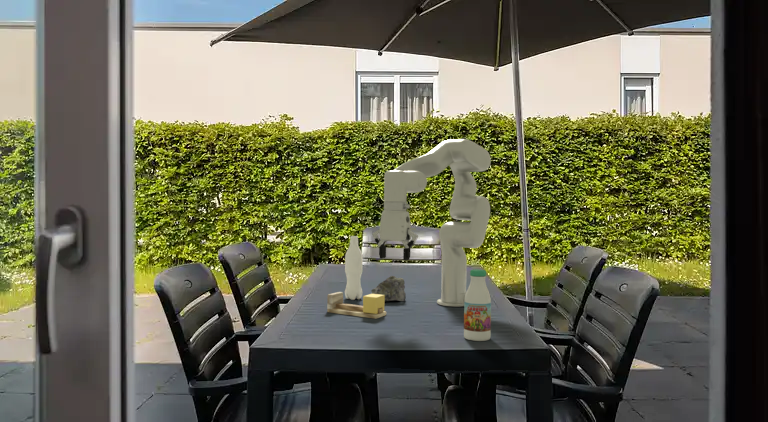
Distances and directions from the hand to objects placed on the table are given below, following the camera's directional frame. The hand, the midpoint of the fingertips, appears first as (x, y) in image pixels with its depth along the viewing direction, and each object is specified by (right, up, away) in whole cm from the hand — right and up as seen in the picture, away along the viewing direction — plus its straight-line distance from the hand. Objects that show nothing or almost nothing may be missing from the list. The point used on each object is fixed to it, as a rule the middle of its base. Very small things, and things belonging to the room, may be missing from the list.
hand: (394, 258), depth 188 cm
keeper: (-7, -18, +4) cm, 20 cm away
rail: (-13, -20, +8) cm, 25 cm away
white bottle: (-16, -19, +36) cm, 43 cm away
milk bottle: (+24, -21, -25) cm, 40 cm away
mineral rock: (-2, -20, +32) cm, 38 cm away
